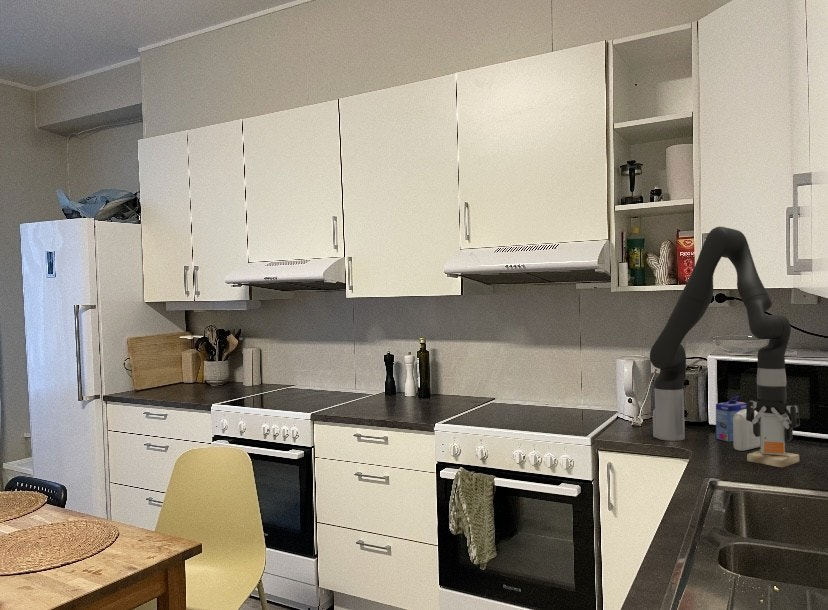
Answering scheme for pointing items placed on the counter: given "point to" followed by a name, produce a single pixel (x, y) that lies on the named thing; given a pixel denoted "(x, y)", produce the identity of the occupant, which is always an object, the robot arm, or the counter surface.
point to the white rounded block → (744, 432)
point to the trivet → (773, 459)
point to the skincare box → (772, 434)
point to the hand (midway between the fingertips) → (772, 438)
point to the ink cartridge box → (727, 418)
